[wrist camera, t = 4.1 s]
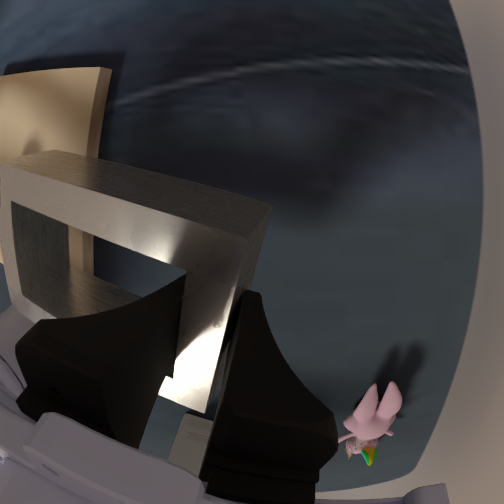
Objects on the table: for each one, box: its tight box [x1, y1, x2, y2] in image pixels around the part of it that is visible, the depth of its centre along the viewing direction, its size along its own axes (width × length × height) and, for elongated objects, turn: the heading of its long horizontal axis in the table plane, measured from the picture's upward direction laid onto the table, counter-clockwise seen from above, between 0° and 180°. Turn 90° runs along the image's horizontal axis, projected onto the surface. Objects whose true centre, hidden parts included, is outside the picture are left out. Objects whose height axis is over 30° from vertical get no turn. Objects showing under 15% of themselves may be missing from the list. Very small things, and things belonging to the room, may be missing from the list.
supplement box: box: [168, 413, 213, 476], centre depth 24 cm, size 7×7×13 cm
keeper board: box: [0, 67, 113, 276], centre depth 17 cm, size 18×14×6 cm
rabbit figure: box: [338, 381, 402, 466], centre depth 23 cm, size 6×6×15 cm
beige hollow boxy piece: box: [0, 149, 273, 413], centre depth 12 cm, size 8×12×4 cm, turn 76°
